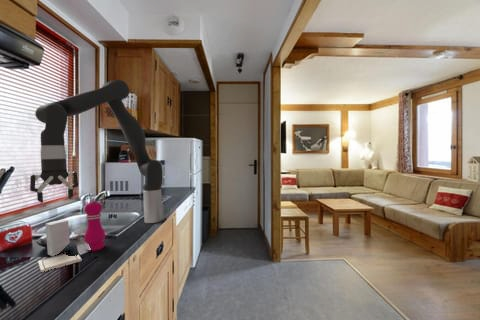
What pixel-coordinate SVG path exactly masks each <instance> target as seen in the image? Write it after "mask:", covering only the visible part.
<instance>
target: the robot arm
mask: <svg viewBox="0 0 480 320" xmlns="http://www.w3.org/2000/svg"><path fill="white" fill-rule="evenodd" d="M130 93H131V92H130V86H129V85H128V84H127V82H126V81H124V80H122V79H114V80H113V79H112V80H110V81H108V82H104V83H103V84H102V86H101V87H99V88H97V89H93V90H89V91H85V92H82V93H79V94H78V93H77V94H76V95H71V96H69V97H66V98H63V99H61V100H57V101H53V102H49V103H45V104H42V105H39V106H38V107H37V108H36V110H35V113H34V114H35V117H36V119H37V120H38V121H39V122H40V123H43V124H45V125H44V129H43V130H42V131H40V166H41V173H40V174H30V176H29V177H30V179H29V180H30V182H29V190H30V192H33V193H36V194H37V195H36V197H37V201H38V202H40V204H42V203H43V204H44V193H43V192H42V191H44V190H45V188H46V187H47V186H48V185H49V186H54V185H61V184H63V185H64V186H66V188H67V199H68V200H72V198H73V197H74V189H75V188H77V187H79V180H78V173H77V171H71V172H68V169H67V167H68V166H67V152H66V145H65V132H66V130H67V129H66V127H67V123H68V117H72V116H76V115H80V114H83V113H85V112H87V111H89V110H92V109H94V108H96V107H98V106H101V105H103V104H105V103H107V105H108V107H109V108H110V110H111V112H112V113H113V115H114V117H115V119H116V121H117V123H118V125H119V127H120V129H121V131H122V133H123V135H124V139H125V140H126V142H127V143H128V146H129V148H130V150H131V152H132V153H133V156H134V159H135V161H136V165H137V167H138V170H139V172H140V174H141V175H142V176H143V177H146V182H145V183H144V184H143V185H142V195H143V217H144V218H143V219H144V221H143V222H144V224H145V223H146V224H154V223H160V222H162V221H165V219H164V218H165V215H164V213H165V211H164V203H163V202H162V200H163V199H162V185H163V175H164V174H163V171H164V170H163V164H162V163H161V162H160V161H159V160H156V159H151V157H150V156H149V153H148V151H147V147H146V146H147V145H146V135H145V134H146V133H145V131H144V130H143V128H142V125H141V124H140V122H139V121H138V119H137V118H136V117H135V116H133V114H131V113H130V112H129V111H128V110H127V108H126V106H125V104H124V103H123V101H122V100H124V99H126V98H127V97H128V96H129V94H130ZM68 177H70V178H72V184H70V182H69V181H67V178H68ZM39 178H40V179H41V180H42V181H43V182H42V183H41V184H40V185H39V187H38V188H36V181H38V180H39Z"/></svg>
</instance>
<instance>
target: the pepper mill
mask: <svg viewBox="0 0 480 320" xmlns="http://www.w3.org/2000/svg"><path fill="white" fill-rule="evenodd" d="M102 210H103V204H101V203H100V202H98V201H96V198H94V197H91V198H90V202H88V203H87V204H86V205H85V206H84V213H85V214H86V216H85V217H86V220H87V228H86V230H85V232H84V236H83V240H84V241H83V242H85V243H86V245H87V244H89V246H90V248H91V250H92V251H91V252H94V251H99V250H102V249H103V248H104V247H105V241H104V240H105V238H106V232H105V230H104V228H103V227H102V224H101V218H102V213H101V212H102Z"/></svg>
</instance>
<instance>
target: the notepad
mask: <svg viewBox="0 0 480 320" xmlns="http://www.w3.org/2000/svg"><path fill="white" fill-rule="evenodd" d="M82 260H83V259H82V257H81V256H80V255H79V254H78V255H77V256H76V255H75V256H68V255H66V253H64V254H63V253H62V254H59V255H56V256H51V257H49V258H44V259H39V260H37V262H38V267H39V270H40V273H41V272H42V273H45V272H49V271H52V270H55V269H54V268H56V269H58V268H62V267H65V265H66V266H69V265H73V264H75V263H76V264H77V263H79V262H82ZM51 269H52V270H51ZM48 270H49V271H48ZM44 271H45V272H44Z"/></svg>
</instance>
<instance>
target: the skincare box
mask: <svg viewBox="0 0 480 320" xmlns="http://www.w3.org/2000/svg"><path fill="white" fill-rule="evenodd" d="M44 226H45V234H46V248H47V255H48V256H51V257H55V255H56V256H58V255H57V254H59V253H60V252H61V251H62V250H63V249H64V248H65V247H66V246H67V245H68V244H69V243H70V244H71V242H70V240H71V239H70V226H69V220H68V219H67V220H66V219H64V218H63V219H60V220H59V219H58V220H54V221H50V222H45V225H44ZM59 255H60V254H59Z"/></svg>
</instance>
